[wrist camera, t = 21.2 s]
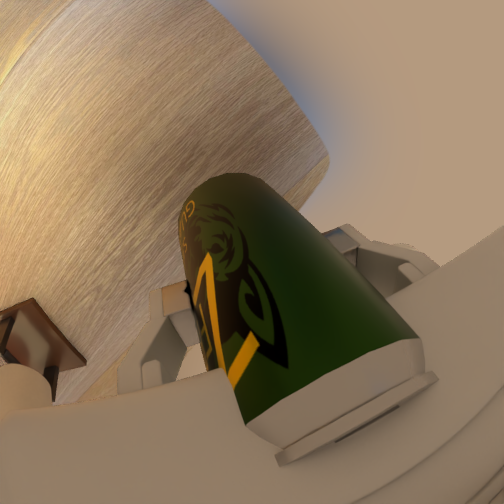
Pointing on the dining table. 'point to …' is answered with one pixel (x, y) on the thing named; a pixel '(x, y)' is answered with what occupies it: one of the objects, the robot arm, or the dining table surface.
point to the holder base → (37, 342)
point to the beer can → (291, 320)
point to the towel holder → (21, 387)
